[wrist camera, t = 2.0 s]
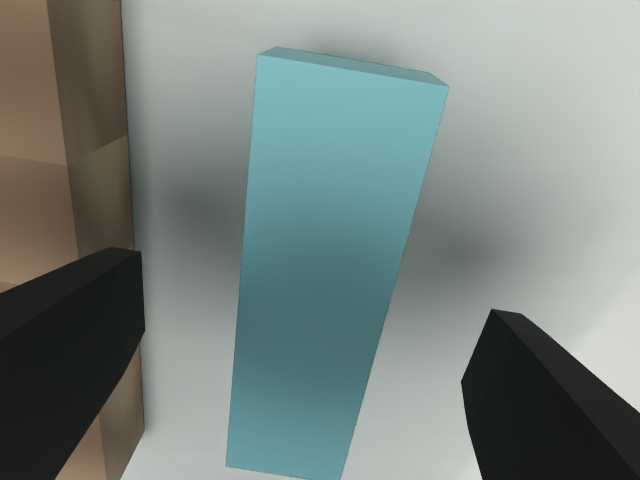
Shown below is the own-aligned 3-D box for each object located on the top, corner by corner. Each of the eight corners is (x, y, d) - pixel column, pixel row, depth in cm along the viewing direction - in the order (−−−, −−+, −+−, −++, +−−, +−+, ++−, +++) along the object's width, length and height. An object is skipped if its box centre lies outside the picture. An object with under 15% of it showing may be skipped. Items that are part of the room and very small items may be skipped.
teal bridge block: (342, 352, 16) (339, 484, 11) (261, 339, 16) (225, 466, 11) (410, 59, 11) (449, 86, 7) (295, 39, 11) (257, 54, 7)
